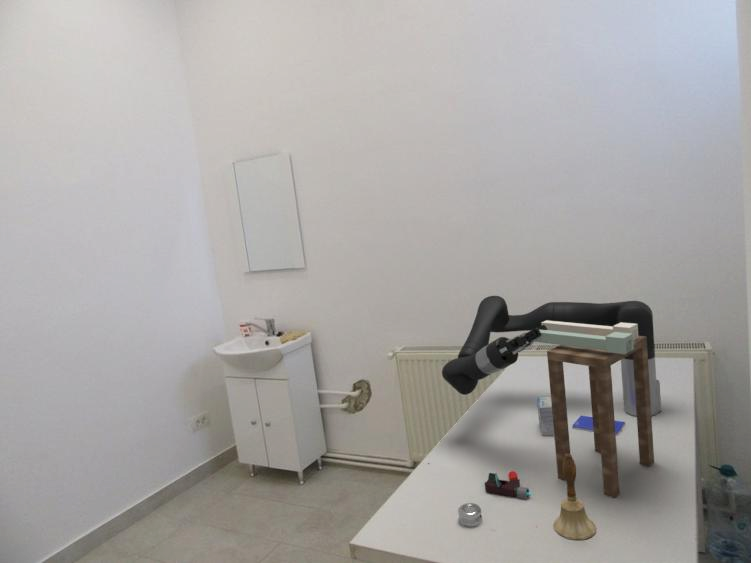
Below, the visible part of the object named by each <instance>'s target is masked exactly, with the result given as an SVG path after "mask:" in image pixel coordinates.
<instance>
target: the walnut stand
mask: <svg viewBox="0 0 751 563" xmlns="http://www.w3.org/2000/svg"><path fill="white" fill-rule="evenodd" d="M633 345H634V349H633V350H632V351H630V352H628V353H626V354H618V353H611V352H607V351H604V350H596V349H588V348H580V347H572V346H565V345H557V346H556V347H553V348H552V349H549V350H547V351H546V355H547V367H548V368H547V369H548V377H549V389H550V397H551V403H552V415H553V426H554V435H553V436H554V446H555V457H556V458H555V459H556V469H557V470H556V472H557V479H559V480H562V481H565V482H566V480H565V478H564V474H563V461H564V458H565V454H571V446H570V431H569V419H568V412H567V411H568V410H567V409H568V408H567V397H566V396H567V395H566V386H565V373H564V363H567V364H573V365H579V366H580V365H581V366H586V367H588V375H589V377H588V379H589V388H590V389H589V390H590V391H589V392H590V403H591V415H592V416H591V417H592V418H593V431H594V432H593V441H594V444H593V445H594V452H597V453H600V455H601V456H600V457H601V469H602V472H601V474H602V483H603V495H604V496H607V497H610V498H612V499H616V497H618V496H619V495H620V494H621V493H620V481H619V480H620V478H619V476H620V475H619V464H618V463H619V462H618V452H617V451H618V450H617V448H618V446H617V436H616V433H615V421H616V419H615V408H614V407H615V406H614V395H613V394H614V393H613V379H612V365H614V364H616V363H618V362H619V361H621V359H623V358H625V357H626V356H628V355H630V354H632V353H633V366H634V381H635V397H636V412H637V416H636V425H637V426H636V427H637V440H638V443H637V444H638V458H639V465H642V466H645V467H646V466H647V467H651V466H653V464H654V463H655V454H654V451H655V450H654V439H653V438H654V434H653V423H652V422H653V420H652V416H651V401H650V384H649V368H648V352H647V337H646V336H638V339H636V340H634V341H633Z"/></svg>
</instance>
